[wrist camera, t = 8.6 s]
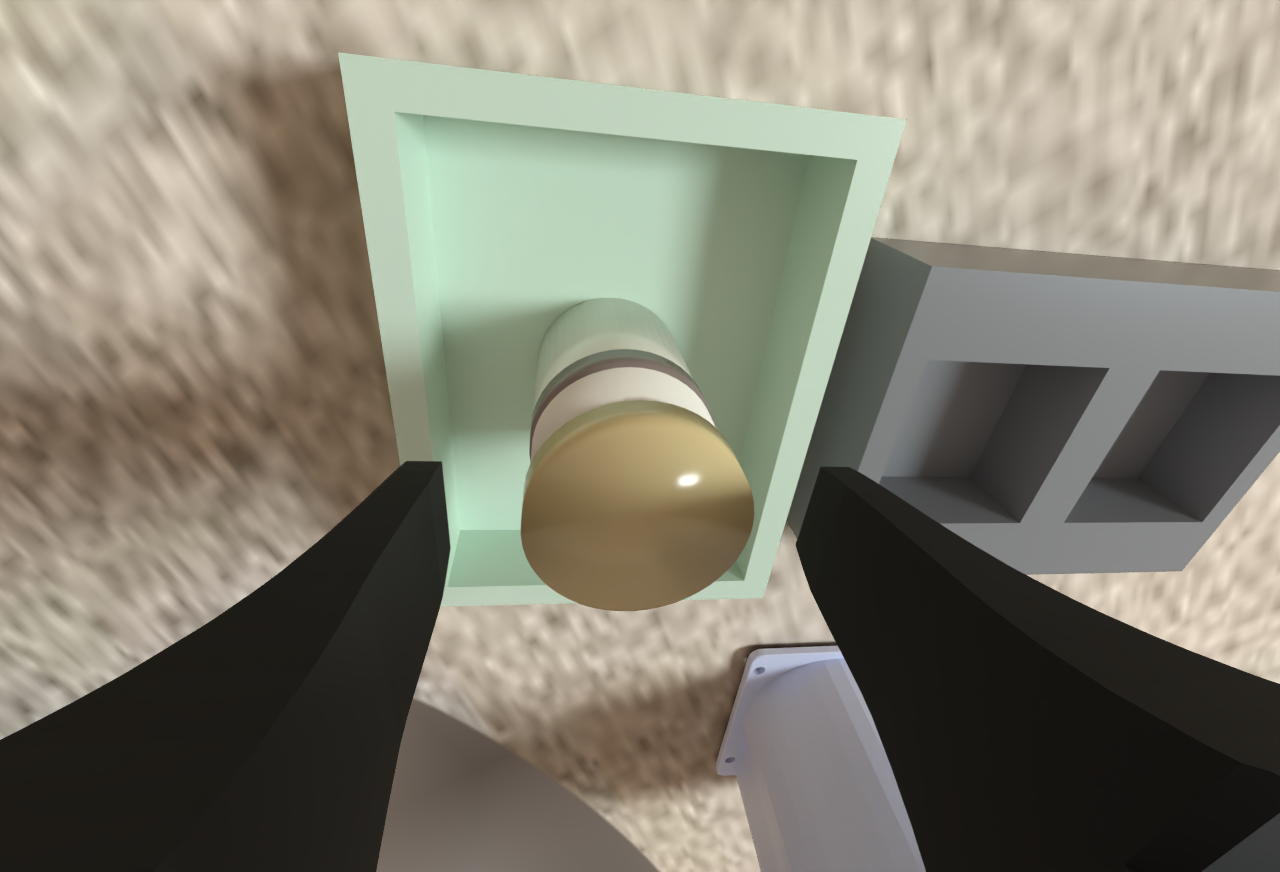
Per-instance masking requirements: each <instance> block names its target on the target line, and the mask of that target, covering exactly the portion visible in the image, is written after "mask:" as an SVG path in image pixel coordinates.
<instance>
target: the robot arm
mask: <svg viewBox="0 0 1280 872" xmlns="http://www.w3.org/2000/svg"><path fill="white" fill-rule="evenodd" d="M796 548H797V551H798V554H799V557H800V560H801V564H802V567H803V570H804V573H805V576H806V579H807V581H808V584H809V587H810V590H811V592H812V594H813V596H814V599H815V601H816V603H817V605H818V607H819V609H820V611H821V613H822V615H823V617H824V619H825V621H826V623H827V625H828V627H829V629H830V631H831V633H832V635H833V637H834V639H835V641H836V643H837V645H838V646H814V647H791V648H767V649H757V650H755V651H753V652H752V653H750V655H749V657H748V660H747V663H746V666H745V669H744V673H743V676H742V679H741V683H740V686H739V689H738V692H737V696H736V699H735V702H734V706H733V709H732V712H731V716H730V719H729V722H728V725H727V729H726V732H725V735H724V739H723V742H722V745H721V748H720V752H719V755H718V758H717V762H716V771H717V773H718V774H719V775H721V776H731V775H736V777H737V781H738V785H739V788H740V792H741V796H742V800H743V804H744V808H745V812H746V816H747V819H748V823H749V827H750V831H751V835H752V839H753V843H754V846H755V850H756V854H757V858H758V862H759V866H760V870H761V872H1280V684H1278V683H1275V682H1272V681H1269V680H1266V679H1263V678H1260V677H1258V676H1255V675H1252V674H1249V673H1247V672H1244V671H1241V670H1239V669H1236V668H1234V667H1231V666H1228V665H1226V664H1223V663H1220V662H1218V661H1215V660H1213V659H1210V658H1207V657H1205V656H1202V655H1199V654H1197V653H1194V652H1192V651H1189V650H1187V649H1184V648H1182V647H1179V646H1177V645H1174V644H1172V643H1170V642H1167V641H1165V640H1162V639H1160V638H1157V637H1155V636H1153V635H1150V634H1148V633H1146V632H1143V631H1141V630H1139V629H1137V628H1134V627H1132V626H1130V625H1128V624H1125V623H1123V622H1121V621H1119V620H1116V619H1114V618H1112V617H1110V616H1107V615H1105V614H1103V613H1101V612H1099V611H1096V610H1094V609H1092V608H1090V607H1088V606H1086V605H1084V604H1082V603H1080V602H1078V601H1075V600H1073V599H1071V598H1069V597H1068V596H1066V595H1064V594H1062V593H1060V592H1058V591H1056V590H1054V589H1052V588H1050V587H1048V586H1046V585H1044V584H1042V583H1040V582H1038V581H1036V580H1034V579H1033V578H1031V577H1029V576H1027V575H1025V574H1023V573H1021V572H1020V571H1018V570H1016V569H1014V568H1012V567H1011V566H1009V565H1007V564H1005V563H1004V562H1002V561H1000V560H999V559H997V558H995V557H993V556H992V555H990V554H988V553H987V552H985V551H983V550H982V549H980V548H978V547H976V546H975V545H973V544H971V543H970V542H968V541H967V540H965V539H963V538H962V537H960V536H959V535H957V534H955V533H954V532H952V531H951V530H949V529H947V528H946V527H944V526H943V525H941V524H940V523H938V522H936V521H935V520H933V519H932V518H930V517H929V516H927V515H926V514H924V513H923V512H921V511H920V510H918V509H916V508H915V507H913V506H912V505H910V504H909V503H907V502H906V501H904V500H903V499H901V498H900V497H898V496H897V495H895V494H894V493H892V492H890V491H889V490H887V489H886V488H884V487H883V486H881V485H880V484H878V483H876V482H875V481H873V480H872V479H870V478H868V477H867V476H865V475H863V474H862V473H860V472H858V471H856V470H854V469H852V468H850V467H820V470H819V473H818V476H817V479H816V482H815V485H814V489H813V492H812V495H811V498H810V501H809V504H808V508H807V511H806V514H805V517H804V520H803V523H802V527H801V530H800V533H799V536H798V539H797V542H796ZM450 550H451V546H450V536H449V526H448V516H447V506H446V497H445V487H444V477H443V467H442V461H406V462H405V463H403V464H402V465H401V466H400V467H399V468H398V469H397V470H396V471H394V472H393V473H392V474H391V475H390V476H389V477H388V478H387V479H386V480H385V481H384V482H383V483H382V484H381V485H380V486H379V487H378V488H376V489H375V490H374V491H373V492H372V493H371V494H370V495H369V496H368V497H367V498H366V499H365V500H364V501H363V502H362V503H361V504H360V505H358V506H357V507H356V508H355V509H354V510H353V511H352V512H351V513H350V514H348V515H347V516H346V517H345V518H344V519H343V520H342V521H341V522H340V523H338V524H337V525H336V526H335V527H334V528H333V529H332V530H331V531H330V532H328V533H327V534H326V535H325V536H324V537H323V538H322V539H320V540H319V541H318V542H317V543H315V544H314V545H313V546H312V547H311V548H309V549H308V550H307V551H306V552H304V553H303V554H302V555H301V556H300V557H298V558H297V559H296V560H295V561H293V562H292V563H291V564H290V565H289V566H287V567H286V568H285V569H284V570H282V571H281V572H280V573H278V574H277V575H276V576H274V577H273V578H272V579H270V580H269V581H268V582H266V583H265V584H264V585H262V586H261V587H259V588H258V589H257V590H255V591H254V592H253V593H251V594H250V595H248V596H247V597H245V598H244V599H242V600H241V601H240V602H238V603H237V604H235V605H234V606H232V607H231V608H229V609H228V610H226V611H225V612H224V613H222V614H221V615H219V616H218V617H216V618H215V619H213V620H212V621H210V622H209V623H207V624H205V625H204V626H202V627H201V628H199V629H197V630H196V631H194V632H193V633H191V634H189V635H188V636H186V637H184V638H183V639H181V640H179V641H178V642H176V643H174V644H173V645H171V646H169V647H168V648H166V649H165V650H163V651H161V652H160V653H158V654H156V655H155V656H153V657H151V658H150V659H148V660H146V661H145V662H143V663H142V664H140V665H138V666H137V667H135V668H133V669H132V670H130V671H128V672H127V673H125V674H123V675H121V676H120V677H118V678H116V679H114V680H113V681H111V682H109V683H107V684H105V685H103V686H102V687H100V688H98V689H96V690H94V691H93V692H91V693H89V694H87V695H85V696H83V697H82V698H80V699H78V700H76V701H74V702H73V703H71V704H69V705H67V706H65V707H63V708H61V709H59V710H57V711H55V712H54V713H52V714H50V715H48V716H46V717H44V718H42V719H40V720H38V721H36V722H34V723H33V724H31V725H29V726H27V727H25V728H23V729H21V730H19V731H17V732H15V733H13V734H11V735H9V736H7V737H5V738H3V739H1V740H0V872H376V869H377V863H378V858H379V852H380V847H381V841H382V836H383V830H384V825H385V820H386V814H387V808H388V803H389V798H390V794H391V788H392V783H393V778H394V773H395V768H396V763H397V758H398V753H399V748H400V743H401V739H402V735H403V731H404V728H405V723H406V720H407V716H408V712H409V709H410V706H411V702H412V699H413V696H414V692H415V689H416V686H417V682H418V679H419V676H420V672H421V669H422V666H423V663H424V659H425V656H426V653H427V649H428V646H429V643H430V639H431V636H432V632H433V629H434V626H435V622H436V619H437V615H438V612H439V609H440V605H441V602H442V598H443V592H444V587H445V581H446V575H447V569H448V562H449V556H450Z"/></svg>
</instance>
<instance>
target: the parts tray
mask: <svg viewBox="0 0 1280 872" xmlns="http://www.w3.org/2000/svg"><path fill="white" fill-rule="evenodd" d="M338 55H339V62H340V68H341V75H342V82H343V88H344V95H345V102H346V108H347V115H348V122H349V128H350V135H351V142H352V148H353V155H354V162H355V168H356V175H357V182H358V189H359V195H360V202H361V209H362V215H363V222H364V229H365V235H366V242H367V249H368V255H369V262H370V269H371V275H372V282H373V289H374V295H375V302H376V309H377V315H378V322H379V329H380V335H381V342H382V349H383V355H384V362H385V369H386V375H387V382H388V389H389V395H390V402H391V409H392V415H393V422H394V429H395V435H396V442H397V449H398V456H399V462H400V466H401V465H402V464H403V463H405V462H406V461H442V467H443V477H444V487H445V497H446V506H447V516H448V526H449V536H450V546H451V550H450V556H449V562H448V569H447V575H446V581H445V587H444V592H443V598H442V602H441V605H440V607H449V606H486V605H523V604H559V603H577V602H574V601H572V600H569V599H567V598H565V597H564V596H562V595H560V594H558V593H557V592H555V591H554V590H553V589H551V588H550V587H548V586H547V585H546V584H545V583H544V582H543V581H542V580H541V579H540V578H539V577H538V576H537V574H536V573H535V572H534V570H533V569H532V568H531V566H530V564H529V562H528V560H527V558H526V556H525V553H524V550H523V547H522V541H521V515H522V502H523V489H524V483H525V478H526V474H527V471H528V469H529V466H530V463H531V462H530V454H529V447H530V430H531V420H532V415H533V411H534V405H535V389H536V374H537V359H538V353H539V348H540V345H541V342H542V340H543V338H544V336H545V334H546V332H547V330H548V329H549V328H550V326H551V325H552V324H553V323H554V321H555V320H556V319H557V318H558V317H560V316H561V315H562V314H563V313H564V312H566V311H567V310H569V309H571V308H572V307H574V306H576V305H578V304H580V303H583V302H586V301H589V300H593V299H599V298H620V299H625V300H630V301H633V302H635V303H638V304H640V305H642V306H644V307H646V308H648V309H649V310H651V311H652V312H654V313H655V314H656V315H657V316H658V317H659V318H660V319H661V320H662V321H663V322H664V323H665V325H666V326H667V327H668V329H669V331H670V332H671V334H672V336H673V338H674V340H675V343H676V345H677V347H678V349H679V351H680V353H681V355H682V357H683V359H684V361H685V364H686V366H687V368H688V370H689V372H690V374H691V376H692V378H693V380H694V381H695V382H696V384H697V385H698V387H699V389H700V390H701V392H702V394H703V396H704V398H705V400H706V402H707V404H708V406H709V409H710V411H711V413H712V416H713V418H714V422H715V427H716V428H717V429H718V430H719V431H720V432H721V434H722V435H723V436H724V437H725V438H726V440H727V441H728V443H729V445H730V446H731V448H732V450H733V452H734V454H735V456H736V458H737V460H738V462H739V464H740V466H741V468H742V470H743V472H744V474H745V476H746V478H747V480H748V483H749V486H750V488H751V491H752V495H753V500H754V521H753V527H752V530H751V533H750V537H749V539H748V541H747V543H746V546H745V548H744V549H743V551H742V553H741V554H740V556H739V557H738V559H737V560H736V561H735V562H734V564H733V565H732V566H731V567H730V568H729V569H728V570H727V571H726V572H725V573H724V574H723V575H722V576H721V577H720V578H718V579H717V580H716V581H715V582H713V583H712V584H711V585H709V586H708V587H706V588H704V589H703V590H701V591H700V592H698V593H696V594H694V595H692V596H690V597H688V598H686V599H683V600H707V599H743V598H763V597H764V593H765V590H766V587H767V583H768V580H769V577H770V573H771V570H772V567H773V563H774V560H775V557H776V553H777V550H778V547H779V543H780V540H781V537H782V533H783V530H784V527H785V523H786V520H787V517H788V513H789V510H790V507H791V503H792V500H793V496H794V493H795V490H796V486H797V483H798V480H799V476H800V473H801V470H802V466H803V463H804V460H805V456H806V453H807V450H808V446H809V443H810V440H811V436H812V433H813V430H814V426H815V423H816V420H817V416H818V413H819V410H820V406H821V403H822V400H823V396H824V393H825V390H826V386H827V383H828V380H829V376H830V373H831V370H832V366H833V363H834V360H835V356H836V353H837V350H838V346H839V343H840V340H841V336H842V333H843V330H844V326H845V323H846V320H847V316H848V313H849V310H850V306H851V303H852V300H853V296H854V293H855V290H856V286H857V283H858V280H859V276H860V273H861V270H862V266H863V263H864V260H865V256H866V253H867V250H868V246H869V243H870V240H871V236H872V233H873V230H874V226H875V223H876V220H877V216H878V213H879V210H880V206H881V203H882V200H883V196H884V193H885V190H886V186H887V183H888V180H889V176H890V173H891V170H892V166H893V163H894V160H895V156H896V153H897V150H898V146H899V143H900V140H901V136H902V133H903V130H904V126H905V123H906V120H907V119H898V118H890V117H881V116H873V115H864V114H856V113H847V112H839V111H830V110H822V109H813V108H805V107H796V106H788V105H779V104H771V103H762V102H754V101H745V100H737V99H728V98H720V97H711V96H703V95H694V94H686V93H677V92H669V91H660V90H652V89H643V88H635V87H626V86H618V85H609V84H601V83H592V82H584V81H575V80H567V79H558V78H550V77H541V76H533V75H524V74H516V73H507V72H499V71H490V70H482V69H473V68H465V67H456V66H448V65H439V64H431V63H422V62H414V61H405V60H397V59H388V58H380V57H371V56H363V55H354V54H346V53H338Z"/></svg>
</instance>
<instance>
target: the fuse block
mask: <svg viewBox="0 0 1280 872" xmlns="http://www.w3.org/2000/svg"><path fill="white" fill-rule="evenodd" d="M1279 452H1280V271H1279V270H1267V269H1255V268H1242V267H1230V266H1217V265H1205V264H1193V263H1180V262H1168V261H1156V260H1143V259H1131V258H1118V257H1106V256H1094V255H1081V254H1069V253H1056V252H1044V251H1032V250H1019V249H1007V248H995V247H982V246H970V245H957V244H945V243H933V242H920V241H908V240H895V239H883V238H871V240H870V243H869V246H868V250H867V253H866V256H865V260H864V263H863V266H862V270H861V273H860V276H859V280H858V283H857V286H856V290H855V293H854V296H853V300H852V303H851V306H850V310H849V313H848V316H847V320H846V323H845V326H844V330H843V333H842V336H841V340H840V343H839V346H838V350H837V353H836V356H835V360H834V363H833V366H832V370H831V373H830V376H829V380H828V383H827V386H826V390H825V393H824V396H823V400H822V403H821V406H820V410H819V413H818V416H817V420H816V423H815V426H814V430H813V433H812V436H811V440H810V443H809V446H808V450H807V453H806V456H805V460H804V463H803V466H802V470H801V473H800V476H799V480H798V483H797V486H796V490H795V493H794V496H793V500H792V503H791V507H790V510H789V513H788V517H787V521H788V523H789V524H790V526H791V528H792V530H793V532H794V534H795V536H796V538H797V539H798V536H799V533H800V530H801V527H802V523H803V520H804V517H805V514H806V511H807V508H808V504H809V501H810V498H811V495H812V492H813V489H814V485H815V482H816V479H817V476H818V473H819V470H820V467H850V468H852V469H854V470H856V471H858V472H860V473H862V474H863V475H865V476H867V477H868V478H870V479H872V480H873V481H875V482H876V483H878V484H880V485H881V486H883V487H884V488H886V489H887V490H889V491H890V492H892V493H894V494H895V495H897V496H898V497H900V498H901V499H903V500H904V501H906V502H907V503H909V504H910V505H912V506H913V507H915V508H916V509H918V510H920V511H921V512H923V513H924V514H926V515H927V516H929V517H930V518H932V519H933V520H935V521H936V522H938V523H940V524H941V525H943V526H944V527H946V528H947V529H949V530H951V531H952V532H954V533H955V534H957V535H959V536H960V537H962V538H963V539H965V540H967V541H968V542H970V543H971V544H973V545H975V546H976V547H978V548H980V549H982V550H983V551H985V552H987V553H988V554H990V555H992V556H993V557H995V558H997V559H999V560H1000V561H1002V562H1004V563H1005V564H1007V565H1009V566H1011V567H1012V568H1014V569H1016V570H1018V571H1020V572H1021V573H1023V574H1025V575H1030V574H1075V573H1121V572H1166V571H1182V570H1183V569H1184V568H1185V567H1186V565H1187V564H1188V563H1189V562H1190V560H1191V559H1192V558H1193V557H1194V556H1195V554H1196V553H1197V552H1198V551H1199V549H1200V548H1201V547H1202V546H1203V545H1204V543H1205V542H1206V541H1207V540H1208V538H1209V537H1210V536H1211V535H1212V534H1213V532H1214V531H1215V530H1216V529H1217V528H1218V526H1219V525H1220V524H1221V523H1222V521H1223V520H1224V519H1225V518H1226V517H1227V515H1228V514H1229V513H1230V512H1231V510H1232V509H1233V508H1234V507H1235V506H1236V504H1237V503H1238V502H1239V501H1240V499H1241V498H1242V497H1243V496H1244V495H1245V493H1246V492H1247V491H1248V490H1249V488H1250V487H1251V486H1252V485H1253V484H1254V482H1255V481H1256V480H1257V479H1258V477H1259V476H1260V475H1261V474H1262V473H1263V471H1264V470H1265V469H1266V468H1267V466H1268V465H1269V464H1270V463H1271V462H1272V460H1273V459H1274V458H1275V457H1276V456H1277V454H1278V453H1279Z"/></svg>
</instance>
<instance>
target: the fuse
mask: <svg viewBox="0 0 1280 872" xmlns="http://www.w3.org/2000/svg"><path fill="white" fill-rule="evenodd" d="M529 454H530V462H531V463H530V466H529V469H528V471H527V474H526V478H525V483H524V489H523V502H522V515H521V541H522V547H523V550H524V553H525V556H526V558H527V560H528V562H529V564H530V566H531V568H532V569H533V570H534V572H535V573H536V574H537V576H538V577H539V578H540V579H541V580H542V581H543V582H544V583H545V584H546V585H547V586H548V587H550V588H551V589H553V590H554V591H555V592H557V593H558V594H560V595H562V596H564V597H565V598H567V599H569V600H572V601H574V602H577V603H579V604H582V605H585V606H589V607H592V608H598V609H603V610H612V611H638V610H647V609H652V608H658V607H662V606H665V605H669V604H672V603H675V602H678V601H681V600H683V599H686V598H688V597H690V596H692V595H694V594H696V593H698V592H700V591H701V590H703V589H704V588H706V587H708V586H709V585H711V584H712V583H713V582H715V581H716V580H717V579H718V578H720V577H721V576H722V575H723V574H724V573H725V572H726V571H727V570H728V569H729V568H730V567H731V566H732V565H733V564H734V562H735V561H736V560H737V559H738V557H739V556H740V554H741V553H742V551H743V549H744V548H745V546H746V543H747V541H748V539H749V537H750V533H751V530H752V527H753V521H754V500H753V495H752V491H751V488H750V486H749V483H748V480H747V478H746V476H745V474H744V472H743V470H742V468H741V466H740V464H739V462H738V460H737V458H736V456H735V454H734V452H733V450H732V448H731V446H730V445H729V443H728V441H727V440H726V438H725V437H724V436H723V435H722V434H721V432H720V431H719V430H718V429H717V428H716V427H715V422H714V418H713V416H712V413H711V411H710V409H709V406H708V404H707V402H706V400H705V398H704V396H703V394H702V392H701V390H700V389H699V387H698V385H697V384H696V382H695V381H694V380H693V378H692V376H691V374H690V372H689V370H688V368H687V366H686V364H685V361H684V359H683V357H682V355H681V353H680V351H679V349H678V347H677V345H676V343H675V340H674V338H673V336H672V334H671V332H670V331H669V329H668V327H667V326H666V325H665V323H664V322H663V321H662V320H661V319H660V318H659V317H658V316H657V315H656V314H655V313H654V312H652V311H651V310H649V309H648V308H646V307H644V306H642V305H640V304H638V303H635V302H633V301H630V300H625V299H620V298H599V299H593V300H589V301H586V302H583V303H580V304H578V305H576V306H574V307H572V308H571V309H569V310H567V311H566V312H564V313H563V314H562V315H561V316H560V317H558V318H557V319H556V320H555V321H554V323H553V324H552V325H551V326H550V328H549V329H548V330H547V332H546V334H545V336H544V338H543V340H542V342H541V345H540V348H539V353H538V359H537V374H536V389H535V405H534V411H533V415H532V420H531V430H530V447H529Z"/></svg>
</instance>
